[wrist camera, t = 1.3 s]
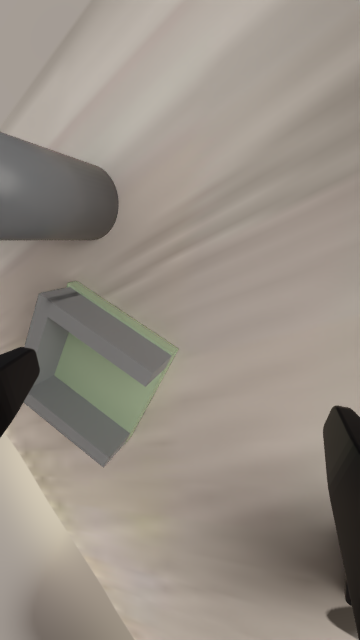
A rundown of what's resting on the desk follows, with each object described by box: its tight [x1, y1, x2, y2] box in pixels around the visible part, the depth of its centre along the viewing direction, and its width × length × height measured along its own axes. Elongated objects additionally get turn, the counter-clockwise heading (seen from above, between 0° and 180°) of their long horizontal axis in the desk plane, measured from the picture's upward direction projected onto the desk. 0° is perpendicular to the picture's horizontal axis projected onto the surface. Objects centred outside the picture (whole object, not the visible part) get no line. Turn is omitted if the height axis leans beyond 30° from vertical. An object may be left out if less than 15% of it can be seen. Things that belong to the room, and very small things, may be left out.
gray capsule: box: [0, 132, 118, 240], centre depth 17 cm, size 5×5×11 cm
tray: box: [24, 281, 178, 468], centre depth 23 cm, size 10×10×4 cm
